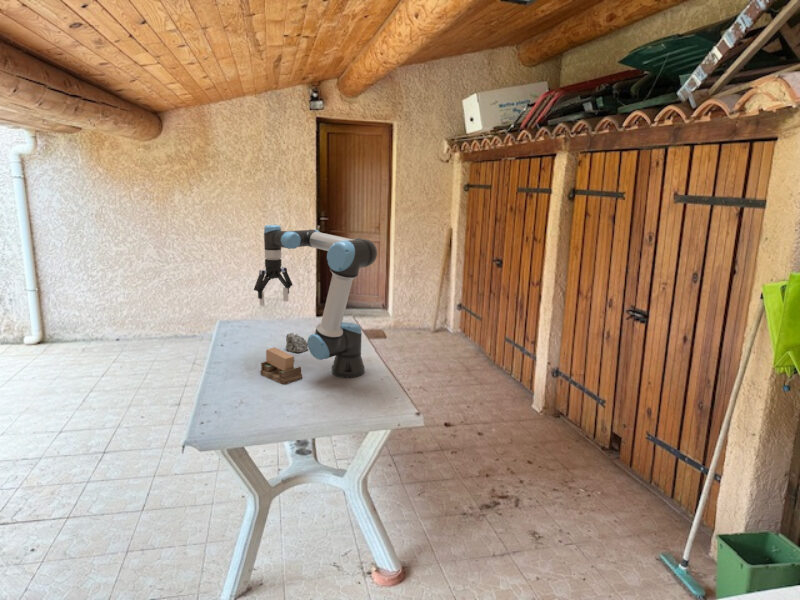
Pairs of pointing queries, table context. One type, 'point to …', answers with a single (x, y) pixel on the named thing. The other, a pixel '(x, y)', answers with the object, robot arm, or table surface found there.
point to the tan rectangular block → (279, 359)
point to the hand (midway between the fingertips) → (274, 303)
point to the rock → (296, 343)
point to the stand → (280, 373)
